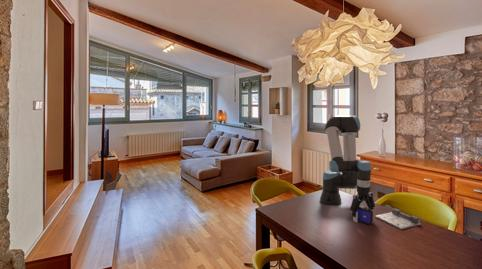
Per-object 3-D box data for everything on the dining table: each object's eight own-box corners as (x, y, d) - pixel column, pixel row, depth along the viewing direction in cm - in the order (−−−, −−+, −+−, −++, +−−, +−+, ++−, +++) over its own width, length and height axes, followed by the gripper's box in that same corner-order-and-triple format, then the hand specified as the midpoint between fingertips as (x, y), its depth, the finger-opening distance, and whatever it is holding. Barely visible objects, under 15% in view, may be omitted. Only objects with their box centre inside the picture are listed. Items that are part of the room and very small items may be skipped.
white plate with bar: (375, 217, 168) (375, 211, 168) (393, 212, 174) (394, 207, 173) (401, 229, 151) (401, 223, 151) (420, 224, 157) (421, 218, 157)
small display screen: (348, 215, 171) (348, 201, 170) (353, 214, 173) (354, 200, 171) (367, 226, 156) (367, 211, 155) (373, 225, 157) (373, 210, 156)
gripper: (353, 190, 154) (352, 225, 156) (382, 185, 162) (380, 219, 165) (344, 186, 161) (343, 220, 163) (372, 181, 169) (371, 214, 172)
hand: (362, 219), depth 164 cm, fingers open, 10 cm apart
